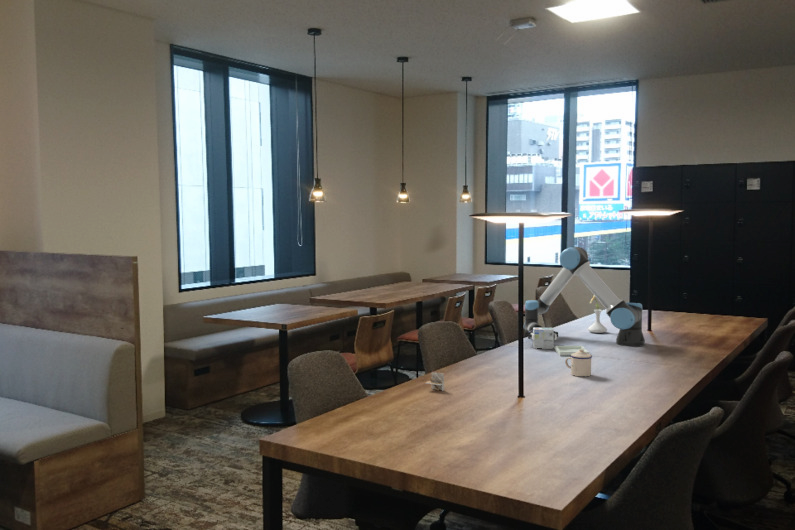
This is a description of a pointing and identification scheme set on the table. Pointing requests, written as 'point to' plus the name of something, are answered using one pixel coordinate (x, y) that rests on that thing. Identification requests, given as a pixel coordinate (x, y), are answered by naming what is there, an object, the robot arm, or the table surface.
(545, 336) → the light bulb box
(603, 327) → the flower in vase
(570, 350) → the tray
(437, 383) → the architectural model
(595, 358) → the table surface
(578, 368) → the teacup with lid
